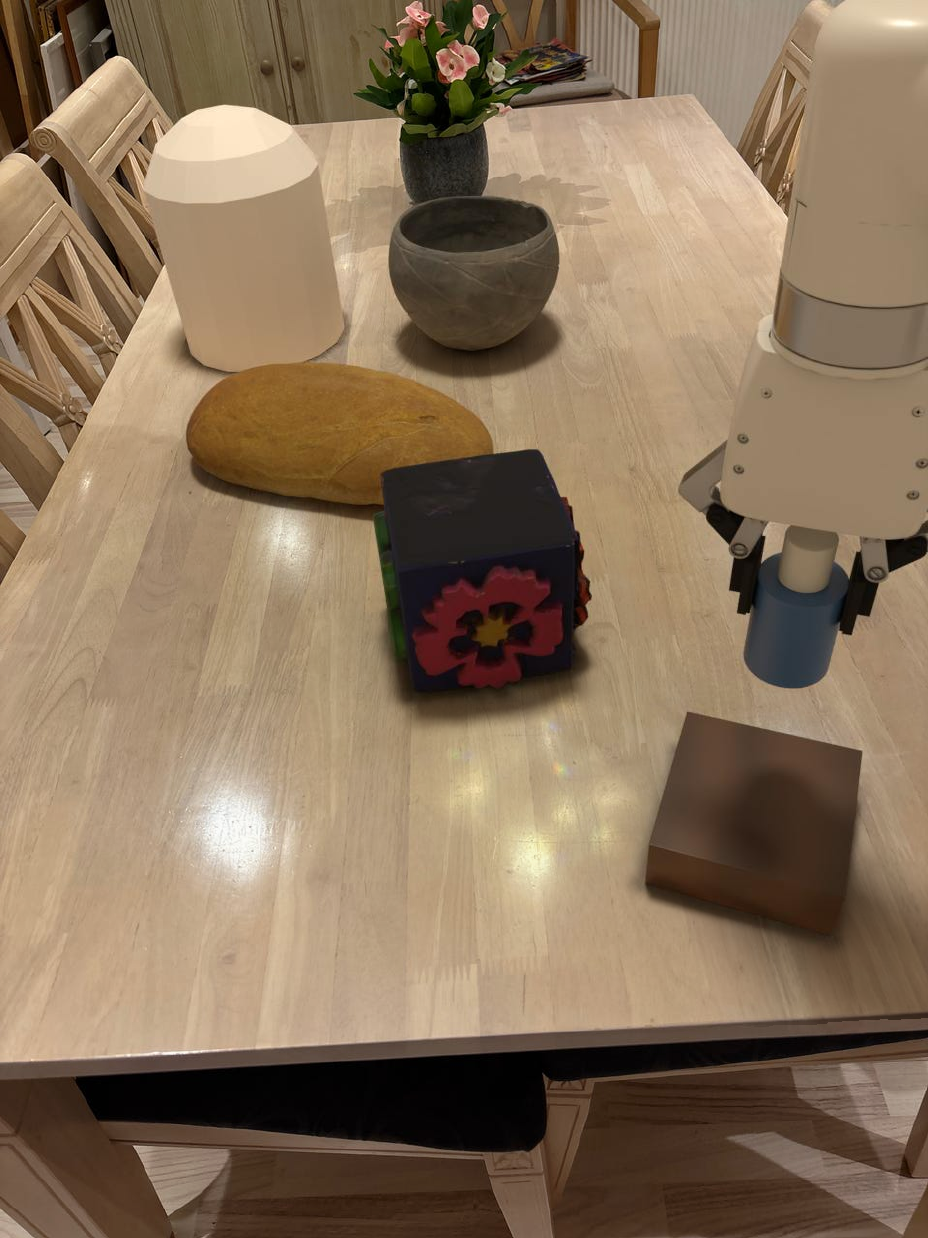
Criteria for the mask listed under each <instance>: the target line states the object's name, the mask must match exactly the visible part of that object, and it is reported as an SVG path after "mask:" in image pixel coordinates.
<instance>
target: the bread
mask: <svg viewBox="0 0 928 1238" xmlns="http://www.w3.org/2000/svg"><path fill="white" fill-rule="evenodd" d="M492 439H493V438H492V436H491V434H490V432H489V429H488V428H487V426H486V425H485V423H484V422H483V421H482V419H480V418H479V417H478V416H477V415H476V414H475V413H474V412H473V411H471V410H470V409H468V408H467V407H465V406H464V405H462V404H461V403H460V402H458V401H457V400H455V399H454V398H453V397H450V396H448V395H447V394H445V393H443V392H441V391H439V390H438V389H435V388H432V387H430V386H427V385H425V384H422V383H420V382H418V381H416V380H414V379H411V378H408V377H404V376H401V375H398V374H394V373H391V372H386V371H382V370H381V371H380V370H377V369H371V368H367V367H361V366H358V365H352V364H344V363H334V362H333V363H332V362H307V361H304V362H299V363H286V364H270V365H264V366H258V367H254V368H250V369H247V370H243V371H241V372H234V373H233V374H231V375H229V376H227V377H225V378H224V379H222V380H220V381H219V382H217V383H215V385H213V386H212V387H211V388H209V390H208V391H207V392H206V393H205V394H204V395H203V397H201V399H200V401H199V402H198V404H197V405H196V406H195V408H194V410H193V411H192V413H191V414H190V417H189V420H188V422H187V425H186V430H185V441H186V446H187V449H188V452H189V454H190V455H191V458H193V460H194V461H195V462H196V464H197V465H199V467H201V468H202V469H203V470H204V471H206V472H207V473H209V474H211V475H212V476H214V477H217V478H218V479H220V480H223V481H225V482H227V483H229V484H233V485H236V486H237V485H238V486H241V487H242V486H243V487H246V488H249V489H253V490H256V491H263V492H270V493H273V494H276V495H280V496H283V497H298V498H313V499H318V500H322V501H327V502H334V503H342V504H350V505H356V506H357V505H358V506H359V505H360V506H365V505H372V504H375V505H382V506H384V500H383V494H382V487H381V473H382V472H384V471H385V470H389V469H393V468H398V467H404V466H411V465H417V464H424V463H430V462H437V461H444V460H452V459H459V458H466V457H474V456H479V455H487V454H494V443H493V440H492Z"/></svg>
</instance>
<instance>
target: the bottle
mask: <svg viewBox="0 0 928 1238" xmlns="http://www.w3.org/2000/svg"><path fill="white" fill-rule="evenodd" d="M782 542H783V543H782V548H781V551H780V552H776V553H774V554H772V555H770V556H768V557H767V558H766V559H764V560H763V561H761V565H760V566H759V570H758V574H757V579H756V585H755V591H754V596H753V602H752V607H751V610H750V613H749V618H748V624H747V630H746V636H745V641H744V646H743V647H744V648H743V654H742V655H743V661H744V664H745V666H746V668H747V669H748V671H750V673H752V674H753V676H755V677H756V678H757V679H759V680H760V681H762V682H764V683H765V684H768V685H770V686H773V687H778V688H782V689H789V690H790V689H791V690H793V689H794V690H795V689H803V688H808V687H811V686H813V685H815V684H817V683H819V682H820V681H821V680H823V679H824V677H825V676H826V675H827V673H828V671H829V668H830V664H831V660H832V657H833V652H834V648H835V644H836V641H837V637H838V633H839V626H840V621H841V617H842V613H843V609H844V605H845V601H846V597H847V593H848V589H849V578H850V577H849V575H848V573H847V572H846V570H845V569H844V568H843V567H842V566H841V565H840V564H839V563H837V562H836V561H835V559H836V556H837V550H838V546H839V542H840V536H839V533H836V532H830V531H824V530H817V529H811V528H805V527H799V526H793V525H788V527H787V528H786V530H785V532H784V537H783V541H782Z"/></svg>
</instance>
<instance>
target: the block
mask: <svg viewBox="0 0 928 1238" xmlns="http://www.w3.org/2000/svg"><path fill="white" fill-rule="evenodd" d="M862 760H863V750H860V749H856V748H852V747H846V746H843V745H838V744H833V743H829V742H825V741H821V740H816V739H812V738H808V737H803V736H798V735H794V734H789V733H785V732H781V731H776V730H772V729H767V728H764V727H759V726H755V725H749V724H746V723H740V722H736V721H732V720H728V719H722V718H719V717H714V716H709V715H706V714H702V713H701V714H700V713H696V712H692V711H686V715H685V718H684V721H683V724H682V728H681V732H680V735H679V738H678V741H677V746H676V748H675V752H674V756H673V759H672V763H671V766H670V770H669V773H668V775H667V776H668V777H667V781H666V783H665V787H664V789H663V790H664V791H663V793H662V798H661V800H660V804H659V808H658V811H657V815H656V818H655V822H654V825H653V828H652V831H651V835H650V839H649V842H648V849H647V859H646V868H645V879H644V883H645V884H647V885H651V886H654V887H657V888H661V889H665V890H667V891H672V892H675V893H679V894H682V895H686V896H689V897H693V898H697V899H700V900H704V901H706V902H709V903H714V904H718V905H721V906H725V907H728V908H731V909H734V910H738V911H742V912H745V913H749V914H753V915H755V916H759V917H763V918H765V919H766V918H767V919H771V920H774V921H778V922H781V923H784V924H788V925H791V926H794V927H799V928H802V929H806V930H809V931H813V932H816V933H818V934H819V933H820V934H824V935H826V936H830V937H832V936H833V934H834V933H835V929H836V926H837V924H838V921H839V918H840V915H841V912H842V911H843V910H842V909H843V906H844V905H845V901H846V899H847V891H848V882H849V874H850V864H851V856H852V847H853V839H854V829H855V822H856V813H857V804H858V795H859V794H858V793H859V786H860V777H861V769H862V768H861V767H862Z"/></svg>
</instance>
